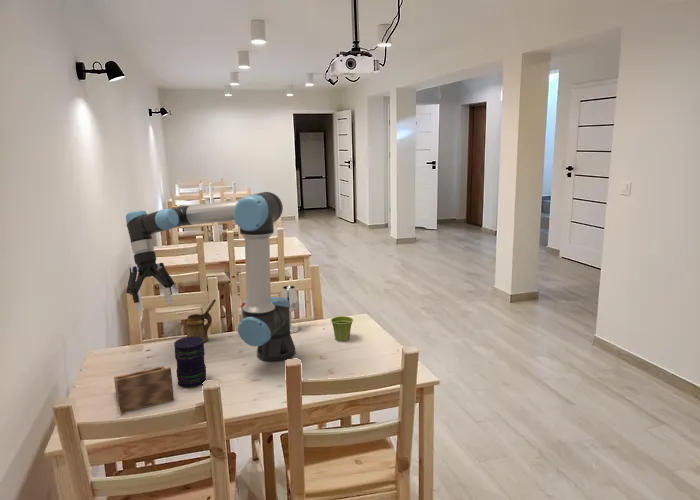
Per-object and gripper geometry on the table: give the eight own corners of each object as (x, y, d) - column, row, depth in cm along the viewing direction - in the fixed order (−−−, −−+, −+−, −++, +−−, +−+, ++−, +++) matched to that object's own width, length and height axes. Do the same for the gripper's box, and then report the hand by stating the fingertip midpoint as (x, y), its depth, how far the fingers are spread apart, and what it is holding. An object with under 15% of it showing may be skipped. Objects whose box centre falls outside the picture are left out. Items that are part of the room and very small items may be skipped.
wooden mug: (218, 343, 209) (215, 302, 205) (184, 346, 206) (181, 304, 203) (219, 335, 217) (216, 296, 214) (187, 338, 215) (183, 298, 211)
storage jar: (178, 390, 168) (174, 349, 165) (176, 378, 177) (172, 339, 174) (208, 384, 172) (205, 344, 169) (204, 373, 181) (201, 334, 178)
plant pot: (333, 334, 216) (332, 315, 215) (354, 335, 215) (354, 316, 213) (329, 342, 207) (329, 323, 206) (351, 343, 206) (351, 324, 204)
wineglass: (279, 333, 219) (277, 289, 215) (284, 326, 227) (282, 284, 223) (296, 333, 218) (294, 290, 214) (301, 327, 225) (299, 285, 221)
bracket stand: (165, 380, 176) (162, 351, 174) (174, 399, 162) (171, 368, 160) (115, 392, 168) (112, 361, 166) (120, 413, 154) (116, 380, 152)
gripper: (163, 251, 198) (174, 303, 198) (108, 257, 176) (120, 316, 176) (176, 247, 195) (187, 300, 195) (121, 253, 173) (134, 313, 172)
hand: (155, 307), depth 185 cm, fingers open, 13 cm apart
